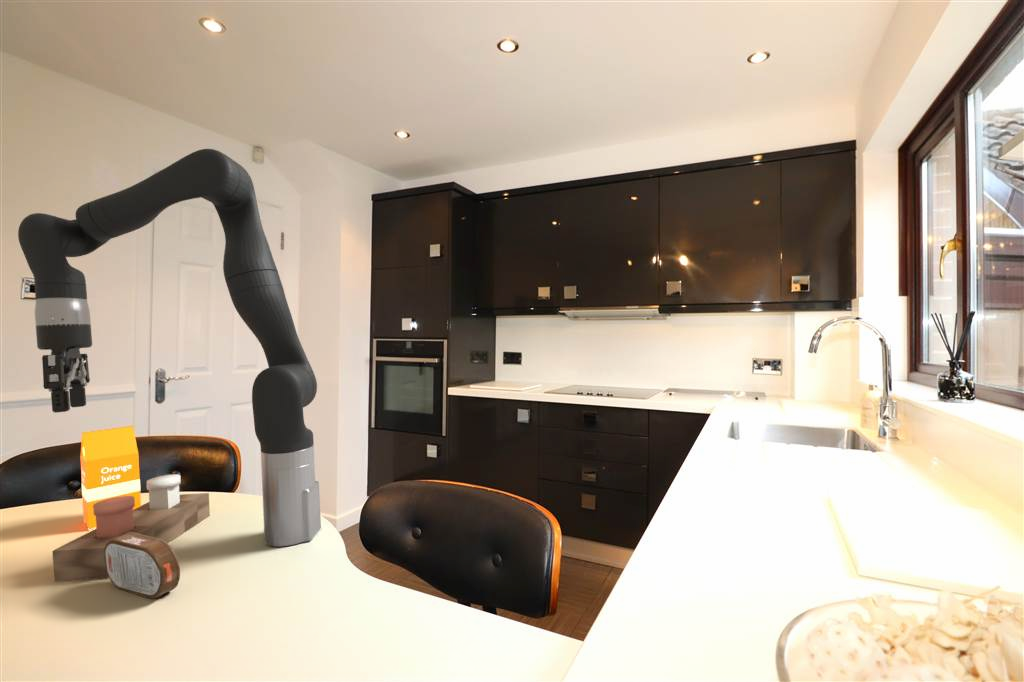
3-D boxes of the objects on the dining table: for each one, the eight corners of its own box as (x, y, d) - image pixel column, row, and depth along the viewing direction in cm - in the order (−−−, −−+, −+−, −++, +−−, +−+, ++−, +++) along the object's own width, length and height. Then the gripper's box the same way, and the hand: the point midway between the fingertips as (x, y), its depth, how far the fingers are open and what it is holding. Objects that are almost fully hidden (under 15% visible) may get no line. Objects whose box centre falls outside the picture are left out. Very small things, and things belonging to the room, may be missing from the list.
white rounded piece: (188, 504, 99) (186, 473, 99) (170, 514, 93) (169, 482, 93) (160, 505, 99) (158, 475, 98) (141, 516, 93) (139, 483, 93)
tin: (183, 594, 71) (180, 539, 71) (160, 606, 68) (158, 549, 68) (123, 578, 77) (121, 527, 77) (100, 587, 74) (98, 535, 74)
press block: (209, 515, 103) (208, 493, 103) (118, 576, 77) (117, 546, 77) (162, 518, 102) (161, 495, 102) (54, 581, 76) (52, 550, 76)
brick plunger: (143, 530, 86) (142, 494, 86) (120, 543, 80) (118, 506, 80) (111, 531, 86) (110, 496, 85) (86, 545, 80) (84, 508, 80)
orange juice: (142, 517, 103) (137, 427, 103) (88, 531, 97) (83, 434, 96) (134, 509, 108) (130, 423, 108) (83, 522, 102) (78, 430, 101)
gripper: (76, 320, 84) (83, 411, 84) (101, 324, 96) (107, 402, 96) (18, 322, 80) (25, 416, 80) (52, 326, 93) (59, 407, 93)
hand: (70, 409), depth 88 cm, fingers open, 8 cm apart
